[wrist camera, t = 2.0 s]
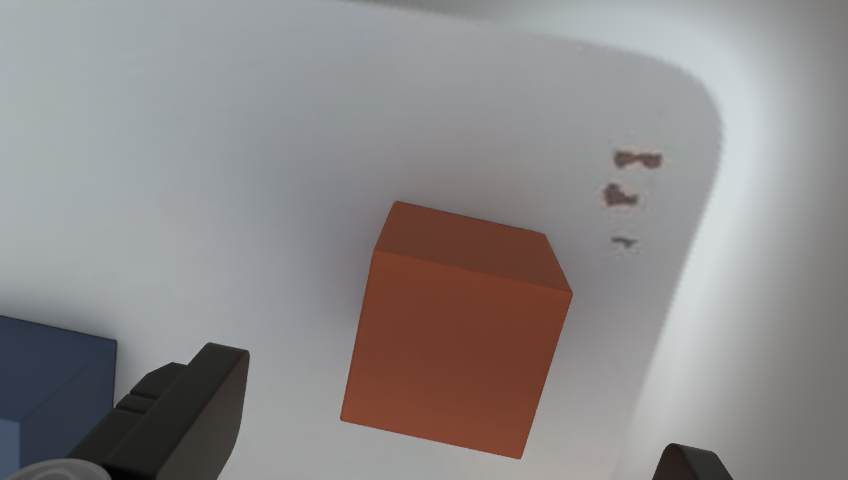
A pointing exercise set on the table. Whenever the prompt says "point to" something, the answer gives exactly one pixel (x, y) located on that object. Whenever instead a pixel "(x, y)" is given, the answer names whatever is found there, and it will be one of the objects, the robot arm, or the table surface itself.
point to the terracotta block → (456, 331)
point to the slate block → (49, 391)
